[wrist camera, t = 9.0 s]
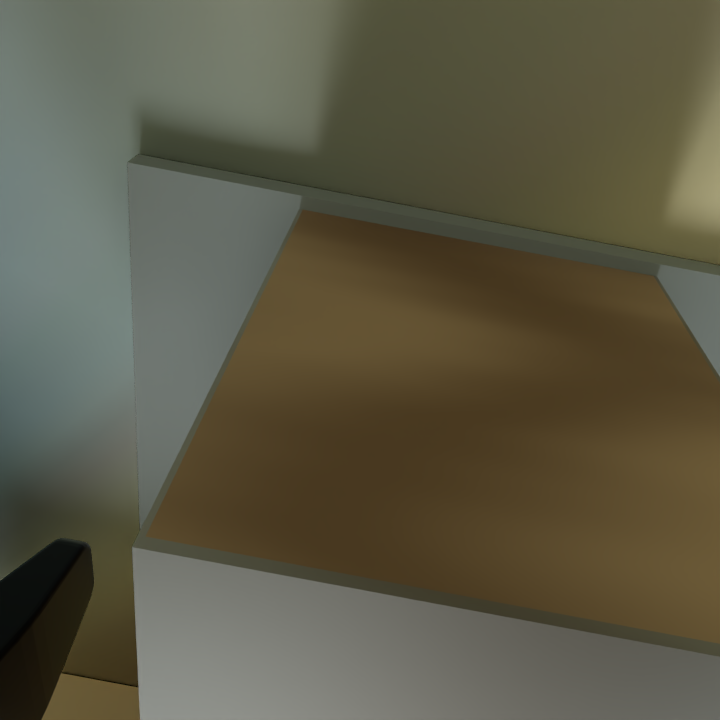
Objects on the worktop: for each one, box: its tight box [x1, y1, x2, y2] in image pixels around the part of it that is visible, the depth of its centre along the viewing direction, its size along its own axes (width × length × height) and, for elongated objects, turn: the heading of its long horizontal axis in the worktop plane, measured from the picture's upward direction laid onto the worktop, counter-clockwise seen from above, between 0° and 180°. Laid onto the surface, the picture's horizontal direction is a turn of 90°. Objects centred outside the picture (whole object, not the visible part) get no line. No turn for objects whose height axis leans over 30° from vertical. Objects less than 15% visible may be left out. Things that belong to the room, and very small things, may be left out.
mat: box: [127, 154, 720, 530], centre depth 12 cm, size 10×9×1 cm
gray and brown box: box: [132, 209, 720, 720], centre depth 9 cm, size 5×9×6 cm, turn 171°
